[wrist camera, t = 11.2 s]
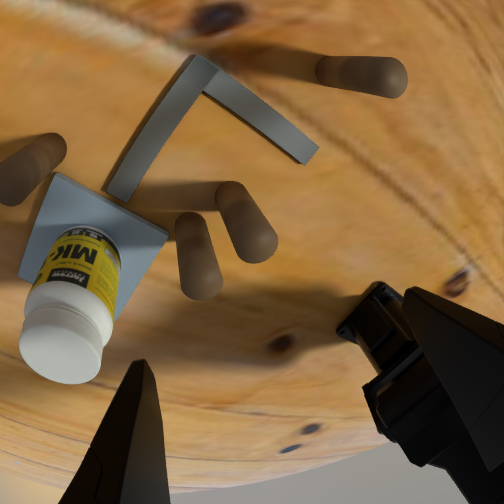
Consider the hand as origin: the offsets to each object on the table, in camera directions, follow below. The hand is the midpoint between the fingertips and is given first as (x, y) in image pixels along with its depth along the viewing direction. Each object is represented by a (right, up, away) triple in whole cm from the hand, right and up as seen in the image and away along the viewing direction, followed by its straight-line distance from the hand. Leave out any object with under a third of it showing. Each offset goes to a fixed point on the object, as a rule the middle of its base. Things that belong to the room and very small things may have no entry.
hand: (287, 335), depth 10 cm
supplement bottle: (-12, +2, +9) cm, 15 cm away
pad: (-12, +3, +9) cm, 15 cm away
